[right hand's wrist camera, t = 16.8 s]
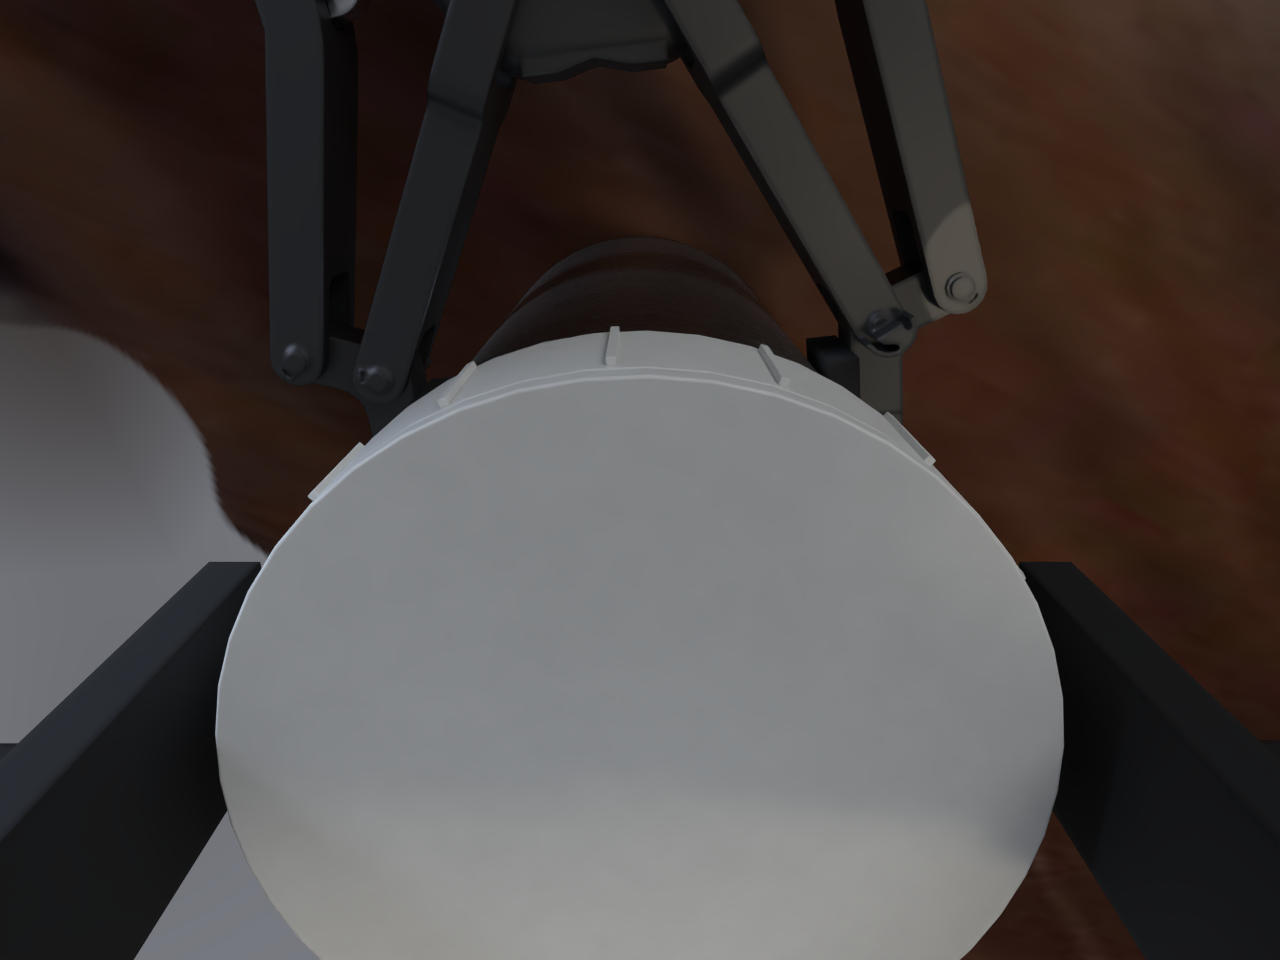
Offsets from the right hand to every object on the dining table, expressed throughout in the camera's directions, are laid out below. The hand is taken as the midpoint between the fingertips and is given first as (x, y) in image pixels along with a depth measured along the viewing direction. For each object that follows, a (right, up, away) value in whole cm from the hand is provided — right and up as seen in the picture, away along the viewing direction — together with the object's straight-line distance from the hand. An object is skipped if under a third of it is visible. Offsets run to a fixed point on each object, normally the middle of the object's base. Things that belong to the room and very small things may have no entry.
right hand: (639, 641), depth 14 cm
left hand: (0, -1, +11) cm, 11 cm away
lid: (0, -1, -3) cm, 3 cm away
